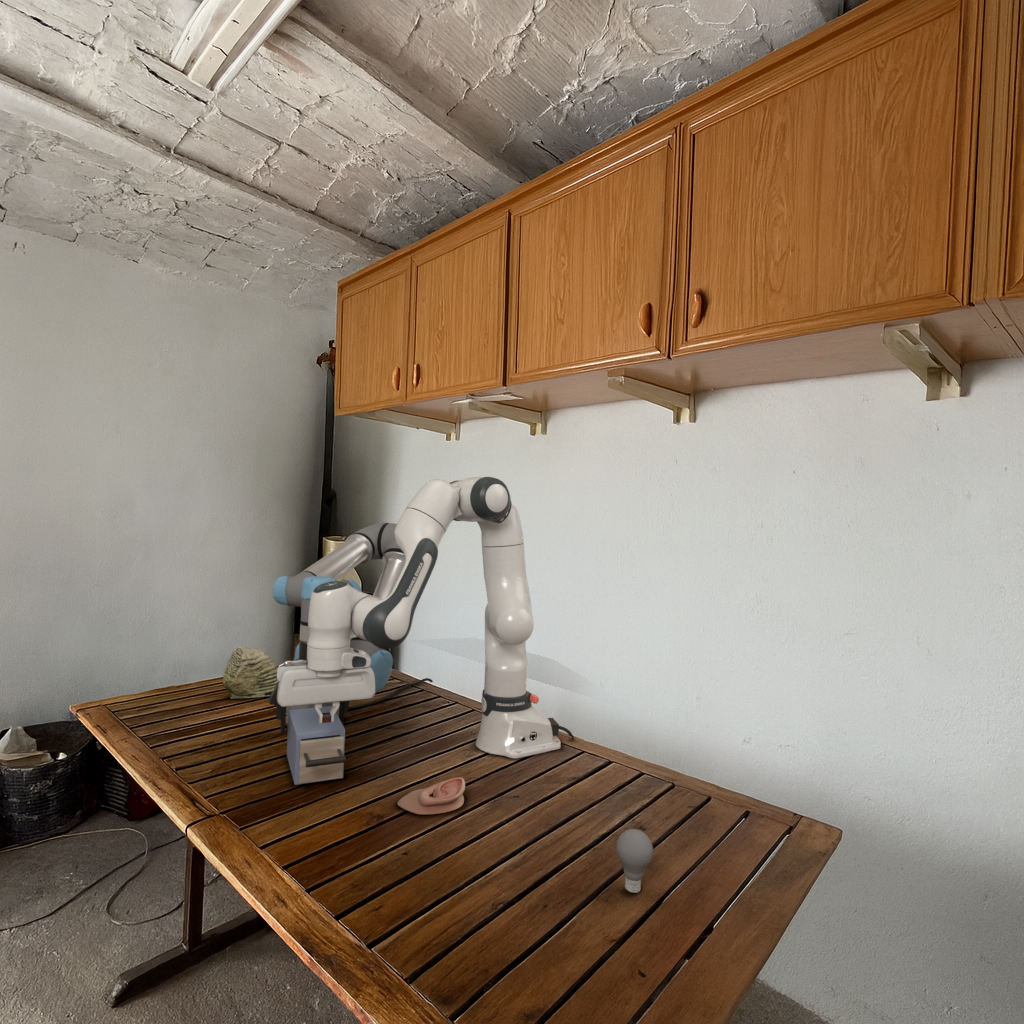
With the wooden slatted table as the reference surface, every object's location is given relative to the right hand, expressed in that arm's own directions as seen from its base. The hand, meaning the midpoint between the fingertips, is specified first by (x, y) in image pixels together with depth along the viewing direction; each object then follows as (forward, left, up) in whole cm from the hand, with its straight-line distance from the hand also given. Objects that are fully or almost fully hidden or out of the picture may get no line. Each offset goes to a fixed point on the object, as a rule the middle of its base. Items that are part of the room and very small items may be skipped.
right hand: (326, 722), depth 136 cm
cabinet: (+1, -14, -15) cm, 20 cm away
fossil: (+14, -72, -15) cm, 75 cm away
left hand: (+1, -18, -8) cm, 20 cm away
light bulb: (-45, +51, -15) cm, 70 cm away
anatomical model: (-21, +12, -15) cm, 28 cm away
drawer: (+1, -8, -14) cm, 16 cm away
